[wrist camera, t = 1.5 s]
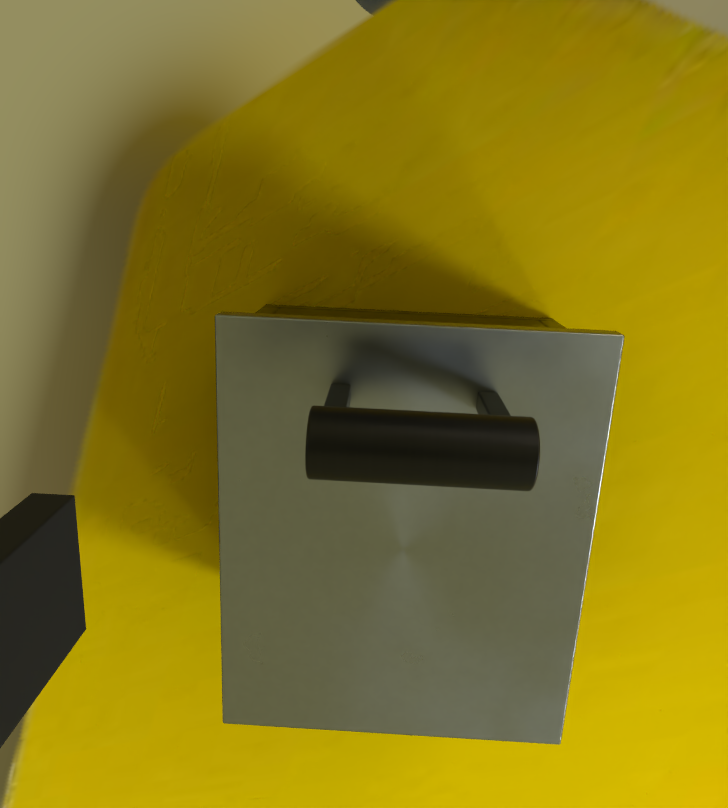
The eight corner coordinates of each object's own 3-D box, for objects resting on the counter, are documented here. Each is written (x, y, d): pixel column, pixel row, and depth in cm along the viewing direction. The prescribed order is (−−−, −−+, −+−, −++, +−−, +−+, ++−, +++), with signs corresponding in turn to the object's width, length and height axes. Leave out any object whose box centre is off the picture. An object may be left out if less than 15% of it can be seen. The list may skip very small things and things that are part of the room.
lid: (220, 311, 23) (153, 352, 17) (617, 330, 23) (709, 380, 16) (227, 709, 28) (177, 864, 21) (556, 730, 27) (608, 893, 21)
